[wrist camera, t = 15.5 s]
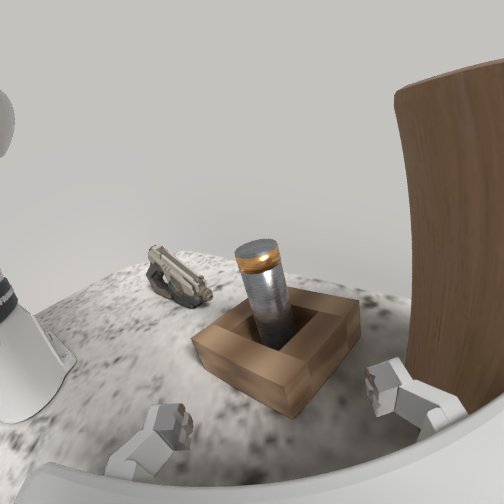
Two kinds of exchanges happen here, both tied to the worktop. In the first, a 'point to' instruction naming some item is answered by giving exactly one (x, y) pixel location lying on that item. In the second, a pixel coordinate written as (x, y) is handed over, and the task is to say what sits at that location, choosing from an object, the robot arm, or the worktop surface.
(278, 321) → the grey metal cylinder
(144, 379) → the worktop surface
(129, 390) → the worktop surface
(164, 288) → the futuristic pistol
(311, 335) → the bore block
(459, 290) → the wooden block
